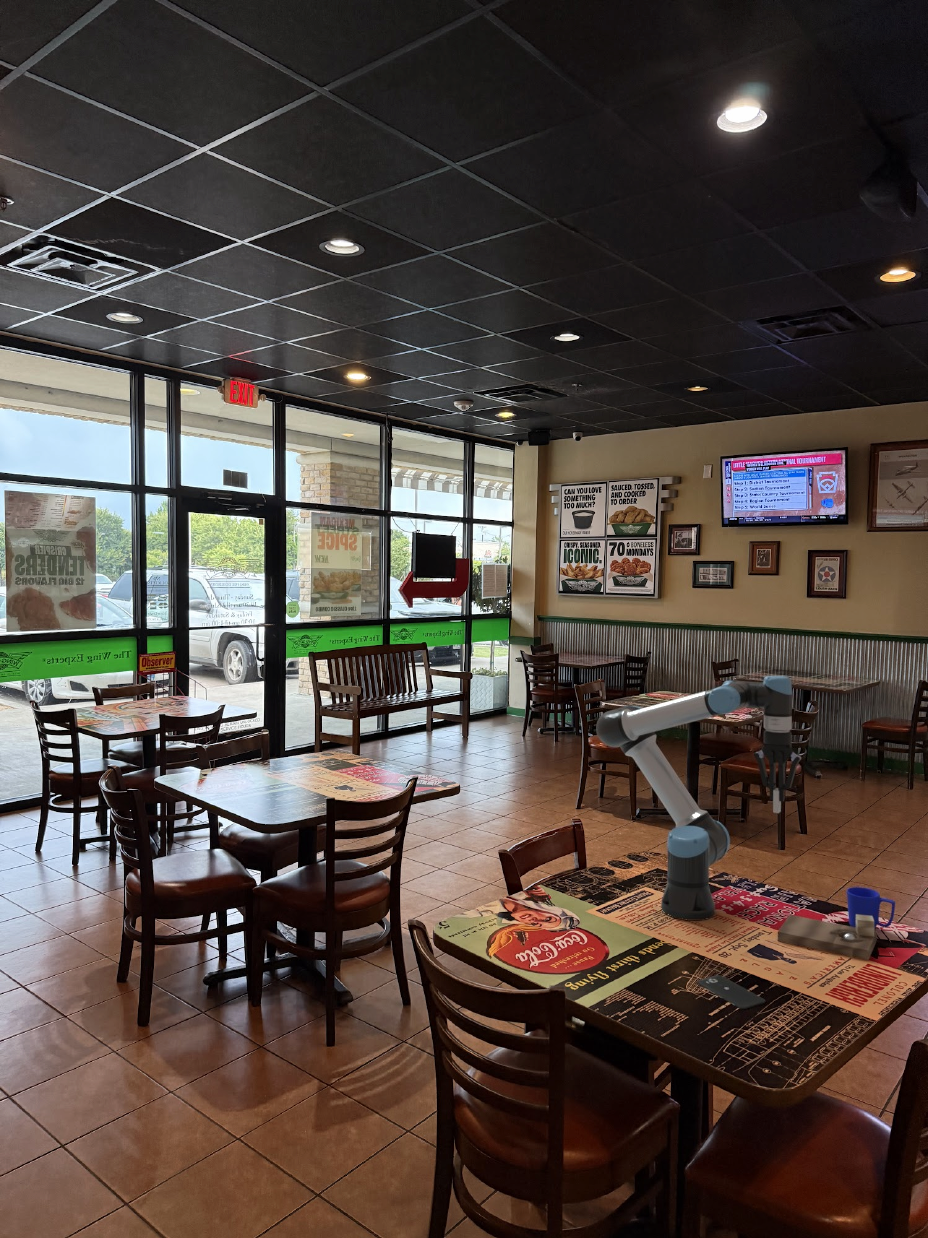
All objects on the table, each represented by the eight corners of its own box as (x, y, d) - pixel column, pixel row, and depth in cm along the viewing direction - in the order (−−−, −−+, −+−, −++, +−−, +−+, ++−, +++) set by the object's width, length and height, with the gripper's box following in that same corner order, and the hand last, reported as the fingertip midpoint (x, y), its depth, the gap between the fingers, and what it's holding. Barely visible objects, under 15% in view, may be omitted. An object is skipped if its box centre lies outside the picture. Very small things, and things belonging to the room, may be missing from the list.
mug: (891, 940, 226) (891, 903, 226) (843, 929, 234) (843, 893, 233) (897, 930, 233) (898, 894, 232) (850, 920, 240) (850, 885, 240)
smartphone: (719, 977, 206) (719, 974, 206) (767, 1004, 193) (767, 1000, 193) (695, 984, 203) (695, 981, 203) (742, 1011, 189) (742, 1008, 189)
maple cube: (857, 935, 224) (857, 920, 223) (855, 929, 227) (855, 914, 227) (874, 936, 222) (874, 921, 222) (872, 931, 226) (872, 916, 226)
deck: (777, 941, 226) (777, 931, 226) (789, 923, 238) (789, 914, 238) (868, 960, 214) (868, 950, 214) (876, 941, 226) (876, 931, 226)
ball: (841, 935, 222) (854, 936, 221) (843, 930, 225) (856, 932, 223) (842, 947, 222) (855, 949, 220) (844, 943, 225) (857, 944, 223)
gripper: (750, 730, 244) (750, 811, 245) (798, 734, 237) (797, 818, 238) (757, 726, 250) (757, 806, 251) (804, 730, 243) (803, 812, 244)
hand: (777, 812), depth 244 cm, fingers closed
